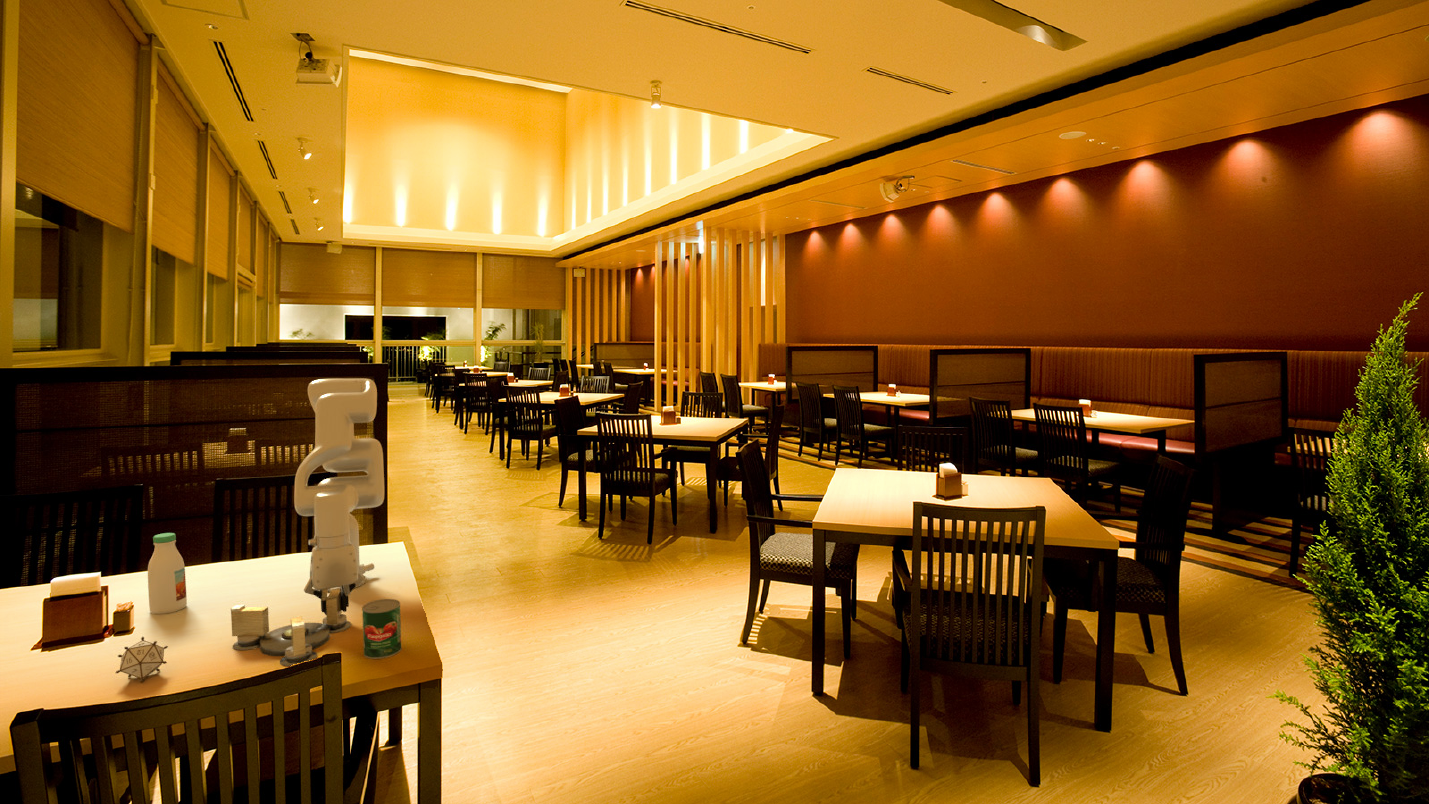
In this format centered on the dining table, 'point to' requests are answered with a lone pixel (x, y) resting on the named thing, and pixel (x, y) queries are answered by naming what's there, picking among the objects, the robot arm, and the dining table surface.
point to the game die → (142, 659)
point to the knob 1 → (249, 624)
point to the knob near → (334, 610)
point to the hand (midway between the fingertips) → (335, 611)
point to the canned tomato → (381, 628)
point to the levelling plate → (281, 640)
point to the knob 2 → (298, 642)
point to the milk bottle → (166, 576)
